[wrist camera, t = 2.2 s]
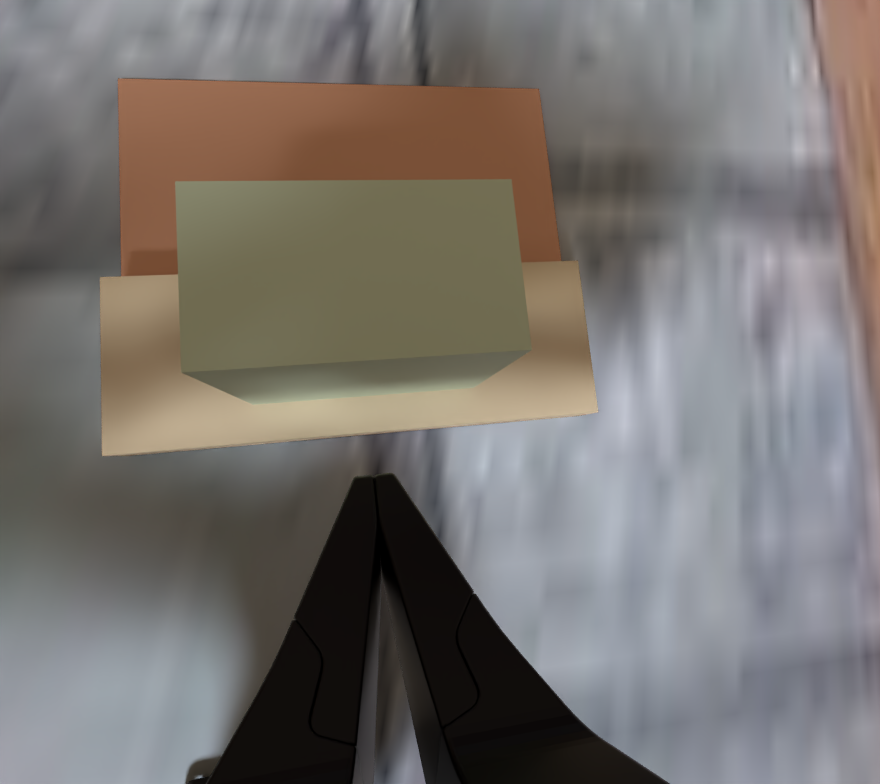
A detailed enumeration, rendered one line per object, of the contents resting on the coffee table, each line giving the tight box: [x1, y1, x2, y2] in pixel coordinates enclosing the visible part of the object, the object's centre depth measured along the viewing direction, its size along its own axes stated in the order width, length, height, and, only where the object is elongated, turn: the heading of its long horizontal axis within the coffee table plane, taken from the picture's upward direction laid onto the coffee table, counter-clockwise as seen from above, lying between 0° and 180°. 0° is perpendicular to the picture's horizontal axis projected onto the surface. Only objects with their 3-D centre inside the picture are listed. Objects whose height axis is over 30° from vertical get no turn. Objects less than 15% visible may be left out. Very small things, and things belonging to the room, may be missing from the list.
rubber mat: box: [118, 79, 561, 276], centre depth 23 cm, size 10×20×1 cm, turn 95°
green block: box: [175, 179, 532, 405], centre depth 16 cm, size 5×9×8 cm, turn 95°
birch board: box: [100, 261, 598, 456], centre depth 21 cm, size 7×20×2 cm, turn 95°
